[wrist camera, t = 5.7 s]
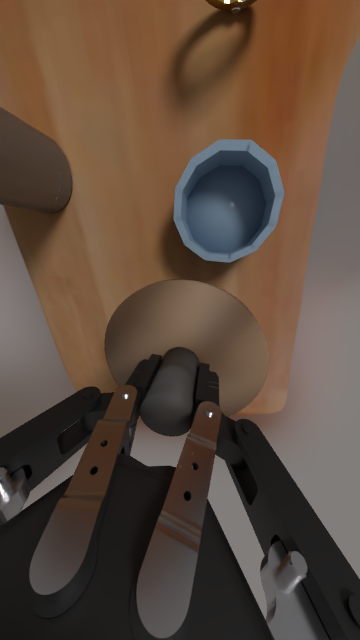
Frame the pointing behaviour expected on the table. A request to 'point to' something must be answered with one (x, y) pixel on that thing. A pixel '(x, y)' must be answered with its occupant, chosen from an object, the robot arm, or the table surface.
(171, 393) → the lid
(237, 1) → the ring
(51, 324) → the table surface
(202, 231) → the bowl
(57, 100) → the table surface
